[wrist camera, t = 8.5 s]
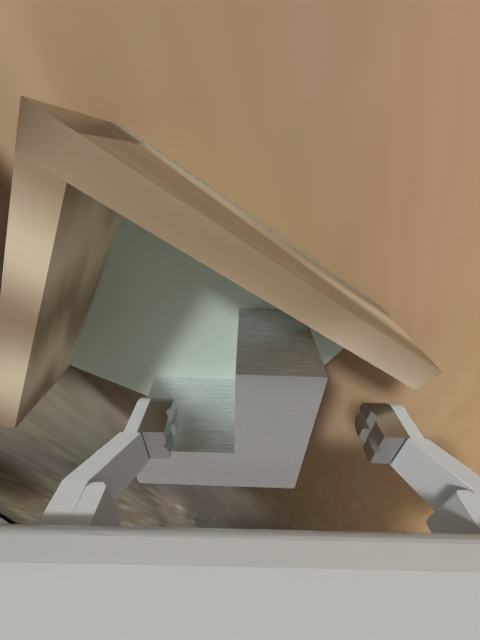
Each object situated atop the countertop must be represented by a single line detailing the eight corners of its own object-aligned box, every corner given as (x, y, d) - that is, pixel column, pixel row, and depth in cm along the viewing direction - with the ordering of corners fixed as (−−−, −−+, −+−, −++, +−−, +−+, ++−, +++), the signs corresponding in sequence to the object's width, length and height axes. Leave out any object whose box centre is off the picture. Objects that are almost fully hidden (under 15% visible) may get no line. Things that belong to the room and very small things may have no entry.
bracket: (283, 413, 18) (294, 488, 14) (163, 409, 18) (139, 482, 14) (302, 309, 13) (328, 377, 9) (139, 305, 13) (91, 369, 9)
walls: (245, 430, 20) (244, 500, 16) (55, 353, 16) (-13, 420, 12) (382, 308, 14) (442, 372, 9) (120, 125, 10) (20, 95, 5)
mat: (245, 430, 20) (245, 434, 20) (55, 353, 16) (51, 357, 16) (382, 308, 14) (385, 311, 13) (120, 125, 10) (115, 123, 9)
